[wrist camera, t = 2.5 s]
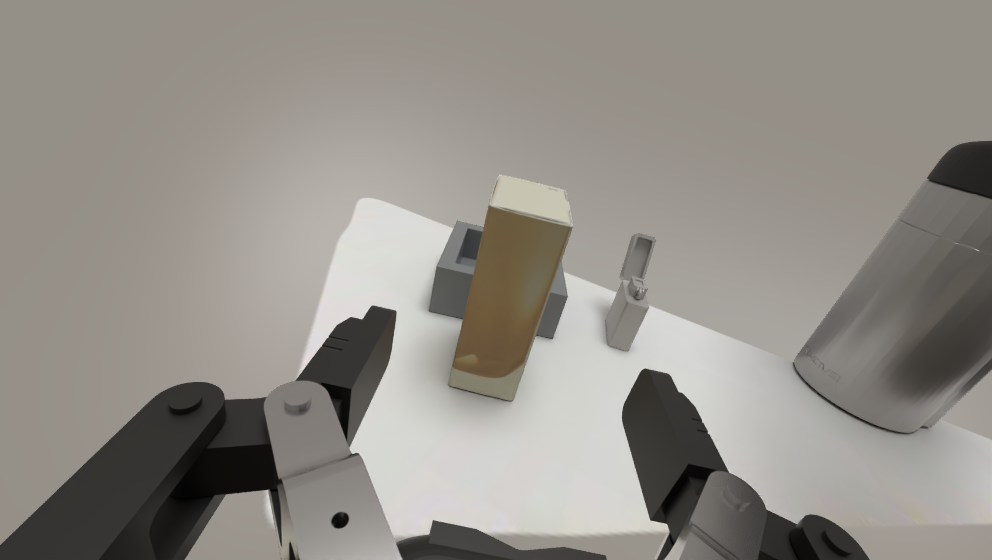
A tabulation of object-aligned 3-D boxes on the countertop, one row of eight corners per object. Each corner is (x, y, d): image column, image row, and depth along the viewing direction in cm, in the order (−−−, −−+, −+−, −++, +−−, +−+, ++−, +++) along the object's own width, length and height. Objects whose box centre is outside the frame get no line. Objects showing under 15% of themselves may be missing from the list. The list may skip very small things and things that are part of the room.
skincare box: (462, 330, 30) (498, 170, 25) (518, 344, 31) (567, 187, 25) (445, 390, 25) (486, 200, 19) (514, 406, 25) (576, 223, 19)
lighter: (628, 352, 33) (670, 266, 29) (607, 345, 33) (646, 259, 29) (621, 308, 39) (654, 233, 35) (603, 303, 39) (634, 228, 36)
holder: (546, 280, 41) (558, 244, 39) (552, 338, 32) (567, 296, 30) (450, 257, 40) (457, 220, 39) (428, 310, 32) (436, 266, 30)
